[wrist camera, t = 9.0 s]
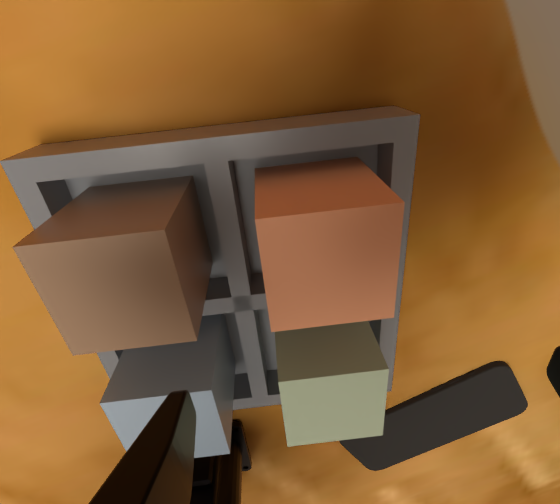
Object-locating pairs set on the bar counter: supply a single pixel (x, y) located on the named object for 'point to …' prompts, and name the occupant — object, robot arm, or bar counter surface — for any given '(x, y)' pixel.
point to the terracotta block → (327, 243)
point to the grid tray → (232, 205)
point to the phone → (442, 416)
